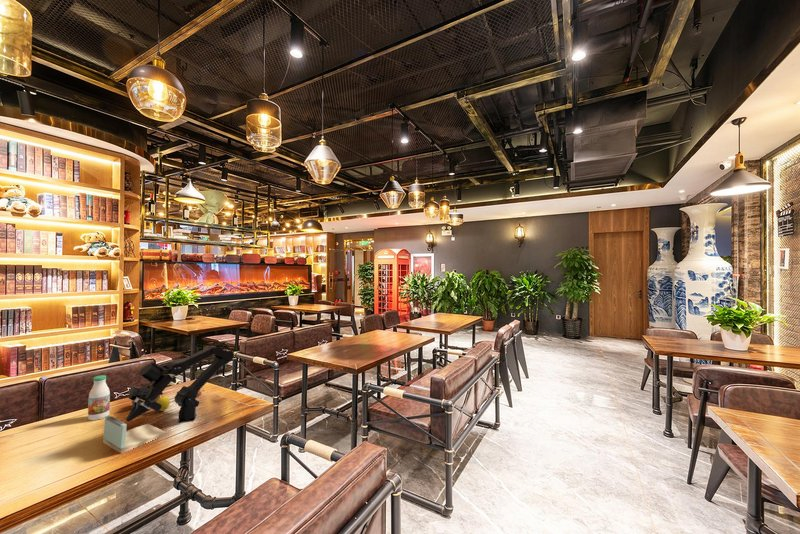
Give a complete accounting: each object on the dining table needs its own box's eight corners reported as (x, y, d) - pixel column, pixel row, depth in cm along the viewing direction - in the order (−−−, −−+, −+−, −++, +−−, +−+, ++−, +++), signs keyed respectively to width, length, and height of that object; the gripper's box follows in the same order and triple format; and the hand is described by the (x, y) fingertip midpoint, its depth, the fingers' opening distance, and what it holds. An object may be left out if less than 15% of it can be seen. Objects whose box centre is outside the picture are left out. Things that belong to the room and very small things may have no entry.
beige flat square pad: (147, 426, 148) (147, 423, 148) (165, 435, 140) (166, 432, 140) (103, 442, 134) (103, 439, 134) (120, 453, 126) (120, 449, 126)
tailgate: (107, 437, 135) (109, 415, 135) (125, 447, 127) (127, 424, 128) (102, 438, 133) (104, 416, 134) (120, 449, 126) (122, 425, 126)
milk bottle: (84, 419, 154) (85, 377, 154) (104, 412, 161) (105, 373, 162) (93, 422, 151) (94, 380, 151) (112, 415, 158) (113, 375, 159)
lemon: (160, 409, 166) (161, 393, 166) (171, 409, 167) (172, 393, 167) (153, 413, 161) (153, 398, 161) (165, 413, 161) (165, 397, 161)
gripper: (133, 374, 144) (100, 407, 134) (154, 381, 135) (120, 418, 125) (152, 386, 150) (122, 419, 140) (173, 394, 142) (143, 429, 132)
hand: (126, 421), depth 134 cm, fingers closed
